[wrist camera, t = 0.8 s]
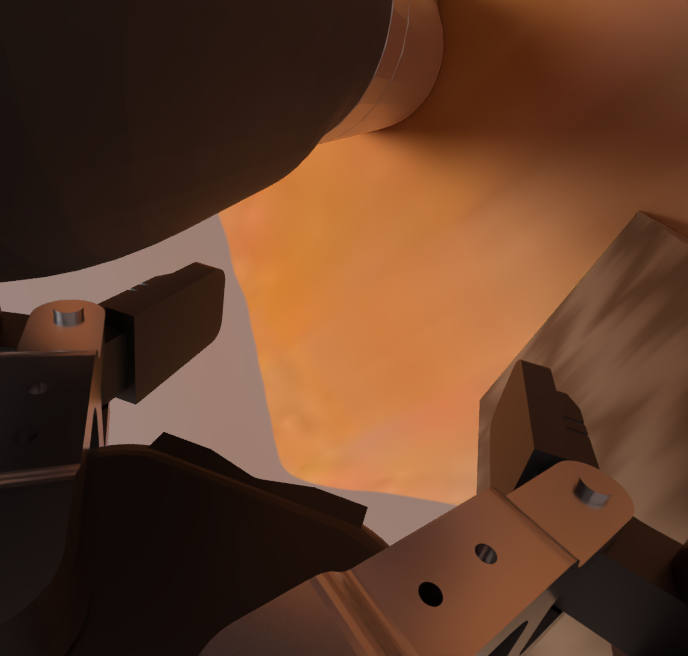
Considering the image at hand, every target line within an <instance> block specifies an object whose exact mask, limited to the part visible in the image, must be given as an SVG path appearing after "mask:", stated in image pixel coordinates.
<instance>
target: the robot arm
mask: <svg viewBox="0 0 688 656" xmlns="http://www.w3.org/2000/svg"><path fill="white" fill-rule="evenodd" d="M437 1H438V0H0V282H8V281H16V280H25V279H33V278H41V277H48V276H52V275H58V274H62V273H67V272H72V271H77V270H81V269H84V268H88V267H92V266H95V265H99V264H102V263H105V262H109V261H112V260H115V259H118V258H121V257H124V256H126V255H129V254H131V253H134V252H137V251H139V250H142V249H144V248H147V247H149V246H152V245H154V244H157V243H159V242H161V241H163V240H165V239H167V238H169V237H171V236H174V235H176V234H178V233H180V232H182V231H184V230H186V229H188V228H190V227H192V226H194V225H196V224H198V223H200V222H201V221H203V220H205V219H207V218H209V217H211V216H213V215H215V214H217V213H219V212H221V211H223V210H224V209H226V208H228V207H230V206H232V205H234V204H236V203H238V202H240V201H242V200H244V199H246V198H247V197H249V196H251V195H253V194H255V193H257V192H259V191H261V190H263V189H265V188H267V187H269V186H271V185H272V184H274V183H276V182H278V181H279V180H281V179H282V178H284V177H285V176H287V175H288V174H289V173H290V172H292V171H293V170H294V169H295V168H296V167H298V166H299V164H300V163H301V162H302V161H303V160H304V159H305V158H306V157H307V156H308V155H309V154H310V153H311V151H312V150H313V149H314V148H315V147H316V145H317V144H322V143H326V142H330V141H334V140H338V139H342V138H346V137H351V136H355V135H359V134H363V133H367V132H372V131H377V130H378V129H382V128H386V127H389V126H393V125H395V124H396V123H398V122H400V121H402V120H404V119H406V118H407V117H408V116H410V115H411V114H412V113H413V112H414V111H416V110H417V109H418V108H419V107H420V105H421V104H422V103H423V102H424V100H425V99H426V98H427V97H428V95H429V93H430V91H431V89H432V88H433V86H434V84H435V82H436V80H437V76H438V73H439V70H440V67H441V64H442V56H443V49H444V40H443V27H442V23H441V19H440V15H439V11H438V5H437ZM224 288H225V274H224V272H223V270H221V269H218V268H215V267H211V266H208V265H205V264H201V263H198V262H195V263H192V264H190V265H188V266H186V267H184V268H182V269H180V270H178V271H176V272H174V273H171V274H166V275H162V276H156V277H154V278H151V279H149V280H147V281H145V282H143V283H142V284H141V285H140V284H139V285H137V286H135V287H133V288H131V289H130V290H126V291H124V292H122V293H120V294H118V295H116V296H114V297H112V298H110V299H107V300H106V301H103V302H101V303H99V304H95V303H93V302H89V301H84V300H58V301H52V302H49V303H45V304H43V305H40V306H38V307H37V308H35V309H34V310H33V311H32V312H31V314H30V315H25V314H19V313H10V312H3V311H1V308H0V656H525V655H526V654H527V653H528V652H529V651H530V650H531V649H532V648H533V647H534V646H535V645H536V644H537V643H538V642H539V641H540V640H541V639H542V638H543V637H544V636H545V635H546V634H547V633H548V632H549V630H550V629H551V628H552V627H553V626H554V625H555V624H556V623H557V622H558V621H559V620H560V619H561V618H562V617H563V616H564V615H565V613H566V614H568V615H569V616H571V617H572V618H574V619H575V620H576V621H578V622H579V623H581V624H582V625H584V626H585V627H587V628H588V629H590V630H591V631H593V632H594V633H596V634H597V635H599V636H600V637H602V638H603V639H605V640H606V641H607V642H609V643H610V644H611V648H612V653H613V656H688V539H687V540H686V542H685V543H684V544H681V543H679V542H677V541H675V540H674V539H672V538H670V537H668V536H666V535H665V534H663V533H661V532H659V531H657V530H655V529H654V528H652V527H650V526H648V525H647V524H645V523H643V522H642V521H640V520H638V519H637V518H636V517H634V516H633V515H634V512H635V508H634V504H633V501H632V499H631V497H630V496H629V494H628V493H627V492H626V490H625V489H624V488H623V487H622V486H621V485H620V484H619V483H618V482H617V481H615V480H614V479H613V478H612V477H610V476H609V475H607V474H606V473H604V472H603V471H601V470H600V469H599V465H598V462H597V459H596V456H595V453H594V450H593V447H592V444H591V441H590V438H589V437H588V432H587V429H586V426H585V425H584V420H583V417H582V414H581V410H580V408H579V407H578V406H577V405H576V404H575V402H574V401H573V400H572V399H571V398H570V397H569V395H568V394H566V393H563V392H560V391H556V387H555V383H554V379H553V375H552V372H551V369H550V368H548V367H544V366H541V365H537V364H534V363H531V362H527V361H524V360H521V359H519V360H518V361H517V362H516V363H515V365H514V367H513V369H512V372H511V374H510V376H509V379H508V381H507V383H506V386H505V388H504V390H503V393H502V395H501V397H500V400H499V402H498V404H497V407H496V409H495V412H494V414H493V418H492V421H491V426H490V488H488V489H486V490H484V491H482V492H481V493H479V494H477V495H476V496H474V497H472V498H471V499H469V500H467V501H465V502H464V503H462V504H460V505H459V506H457V507H455V508H454V509H452V510H450V511H449V512H447V513H445V514H444V515H442V516H440V517H439V518H437V519H435V520H433V521H432V522H430V523H428V524H427V525H425V526H423V527H421V528H420V529H418V530H416V531H415V532H413V533H411V534H410V535H408V536H406V537H404V538H403V539H401V540H399V541H398V542H396V543H394V544H393V545H391V546H389V545H388V544H387V543H386V542H385V541H384V540H383V539H382V538H380V537H379V536H378V535H377V534H375V533H374V532H373V531H372V530H370V529H369V528H367V527H366V526H364V525H363V521H364V518H365V514H366V511H367V508H368V507H366V506H363V505H361V504H358V503H355V502H353V501H350V500H347V499H345V498H342V497H339V496H336V495H334V494H331V493H328V492H325V491H323V490H320V489H317V488H315V487H308V486H301V485H295V484H288V483H281V482H275V481H269V480H262V479H258V478H254V477H253V476H251V475H249V474H248V473H246V472H245V471H243V470H242V469H240V468H239V467H237V466H236V465H234V464H233V463H231V462H230V461H228V460H226V459H225V458H223V457H222V456H220V455H219V454H217V453H216V452H214V451H212V450H211V449H209V448H206V447H203V446H200V445H198V444H195V443H192V442H190V441H187V440H184V439H181V438H179V437H176V436H174V435H171V434H168V433H165V432H163V433H162V434H161V435H160V436H159V437H158V438H157V439H156V440H155V441H154V442H153V443H152V444H151V445H139V444H138V445H137V444H122V445H121V444H119V445H110V446H108V435H109V421H110V401H111V400H112V399H113V398H115V397H116V398H119V399H122V400H124V401H127V402H130V403H133V404H137V403H138V402H140V401H141V400H142V399H143V398H145V397H146V396H147V395H148V394H149V393H151V392H152V391H153V390H154V389H156V388H157V387H158V386H159V385H160V384H162V383H163V382H164V381H165V380H167V379H168V378H169V377H170V376H171V375H172V374H174V373H175V372H176V371H177V370H179V369H180V368H181V367H182V366H184V365H185V364H186V363H187V362H189V361H190V360H191V359H192V358H193V357H195V356H196V355H197V354H198V353H200V352H201V351H202V350H203V349H204V348H206V347H207V346H208V345H209V344H210V343H212V342H213V341H214V340H215V338H216V337H217V335H218V333H219V330H220V327H221V322H222V313H223V300H224Z"/></svg>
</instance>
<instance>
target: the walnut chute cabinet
mask: <svg viewBox="0 0 688 656" xmlns="http://www.w3.org/2000/svg"><path fill="white" fill-rule="evenodd" d="M519 359H521V360H524V361H527V362H531V363H534V364H537V365H541V366H544V367H548V368H550V369H551V372H552V375H553V379H554V383H555V387H556V391H560V392H563V393H566V394H568V395H569V397H570V398H571V399H572V400H573V401H574V402H575V404H576V405H577V406H578V407H579V408H580V410H581V414H582V417H583V420H584V425H585V426H586V429H587V432H588V437H589V438H590V441H591V444H592V447H593V450H594V453H595V456H596V459H597V462H598V465H599V469H600V470H601V471H603V472H604V473H606V474H607V475H609V476H610V477H612V478H613V479H614V480H615V481H617V482H618V483H619V484H620V485H621V486H622V487H623V488H624V489H625V490H626V492H627V493H628V494H629V496H630V497H631V499H632V501H633V504H634V508H635V512H634V515H633V516H634V517H636V518H637V519H638V520H640V521H642V522H643V523H645V524H647V525H648V526H650V527H652V528H654V529H655V530H657V531H659V532H661V533H663V534H665V535H666V536H668V537H670V538H672V539H674V540H675V541H677V542H679V543H681V544H684V543H685V542H686V540H687V539H688V238H687V237H685V236H683V235H681V234H680V233H678V232H676V231H674V230H672V229H671V228H669V227H667V226H665V225H663V224H662V223H660V222H658V221H656V220H655V219H653V218H651V217H649V216H647V215H646V214H644V213H642V212H640V211H639V212H638V213H637V214H636V215H635V217H634V218H633V219H632V220H631V221H630V223H629V224H628V225H627V226H626V227H625V228H624V230H623V231H622V232H621V233H620V234H619V236H618V237H617V238H616V239H615V240H614V242H613V243H612V244H611V245H610V246H609V247H608V249H607V250H606V251H605V252H604V253H603V255H602V256H601V257H600V258H599V259H598V261H597V262H596V263H595V264H594V265H593V266H592V268H591V269H590V270H589V271H588V272H587V274H586V275H585V276H584V277H583V278H582V280H581V281H580V282H579V283H578V284H577V285H576V287H575V288H574V289H573V290H572V291H571V293H570V294H569V295H568V296H567V297H566V299H565V300H564V301H563V302H562V303H561V304H560V306H559V307H558V308H557V309H556V310H555V312H554V313H553V314H552V315H551V316H550V318H549V319H548V320H547V321H546V322H545V323H544V325H543V326H542V327H541V328H540V329H539V331H538V332H537V333H536V334H535V335H534V337H533V338H532V339H531V340H530V341H529V342H528V344H527V345H526V346H525V347H524V348H523V350H522V351H521V352H520V353H519V354H518V356H517V357H516V358H515V359H514V360H513V361H512V363H511V364H510V365H509V366H508V367H507V369H506V370H505V371H504V372H503V373H502V375H501V376H500V377H499V378H498V379H497V380H496V382H495V383H494V384H493V385H492V386H491V388H490V389H489V390H488V391H487V392H486V394H485V395H484V396H483V397H482V398H481V399H480V410H479V439H478V468H477V494H479V493H481V492H482V491H484V490H486V489H488V488H490V426H491V421H492V418H493V414H494V412H495V409H496V407H497V404H498V402H499V400H500V397H501V395H502V393H503V390H504V388H505V386H506V383H507V381H508V379H509V376H510V374H511V372H512V369H513V367H514V365H515V363H516V362H517V361H518V360H519ZM525 656H613V653H612V648H611V644H610V643H609V642H607V641H606V640H605V639H603V638H602V637H600V636H599V635H597V634H596V633H594V632H593V631H591V630H590V629H588V628H587V627H585V626H584V625H582V624H581V623H579V622H578V621H576V620H575V619H574V618H572V617H571V616H569V615H568V614H566V613H565V615H564V616H563V617H562V618H561V619H560V620H559V621H558V622H557V623H556V624H555V625H554V626H553V627H552V628H551V629H550V630H549V632H548V633H547V634H546V635H545V636H544V637H543V638H542V639H541V640H540V641H539V642H538V643H537V644H536V645H535V646H534V647H533V648H532V649H531V650H530V651H529V652H528V653H527V654H526V655H525Z"/></svg>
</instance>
